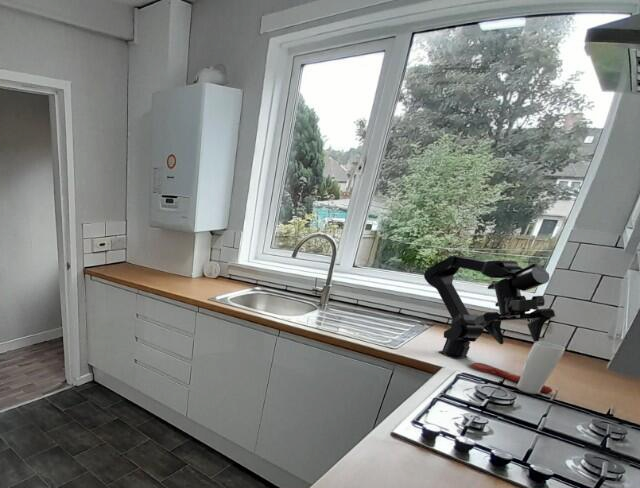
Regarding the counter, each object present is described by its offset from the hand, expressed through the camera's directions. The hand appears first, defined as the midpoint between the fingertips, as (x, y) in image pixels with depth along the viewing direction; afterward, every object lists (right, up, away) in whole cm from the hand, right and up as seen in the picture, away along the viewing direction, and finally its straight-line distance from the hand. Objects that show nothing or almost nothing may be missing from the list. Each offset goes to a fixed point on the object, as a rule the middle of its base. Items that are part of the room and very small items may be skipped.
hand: (519, 343), depth 128 cm
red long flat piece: (+1, -12, +4) cm, 12 cm away
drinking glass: (-1, -15, -4) cm, 16 cm away
